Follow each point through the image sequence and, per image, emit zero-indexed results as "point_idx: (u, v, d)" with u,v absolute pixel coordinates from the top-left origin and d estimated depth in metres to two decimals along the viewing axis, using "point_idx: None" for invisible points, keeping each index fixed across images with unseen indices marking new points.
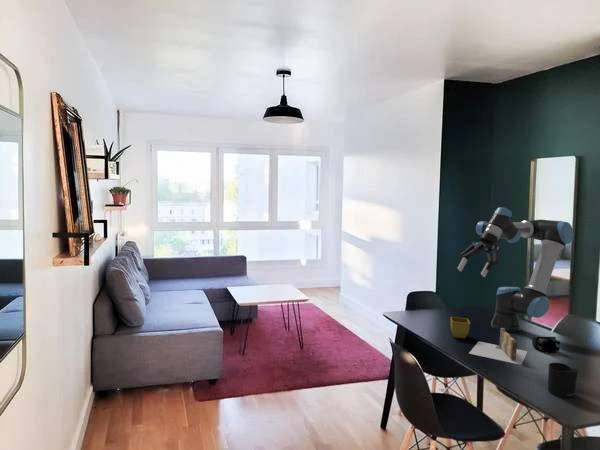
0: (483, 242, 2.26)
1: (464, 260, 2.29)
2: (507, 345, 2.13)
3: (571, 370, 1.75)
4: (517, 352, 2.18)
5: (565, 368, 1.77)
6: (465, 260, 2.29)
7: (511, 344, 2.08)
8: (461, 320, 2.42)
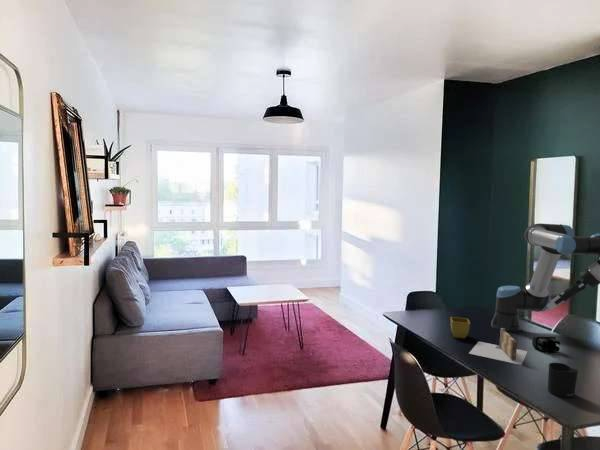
0: None
1: None
2: (507, 345, 2.13)
3: (571, 370, 1.75)
4: (517, 352, 2.18)
5: (565, 368, 1.77)
6: None
7: (511, 344, 2.08)
8: (461, 320, 2.42)
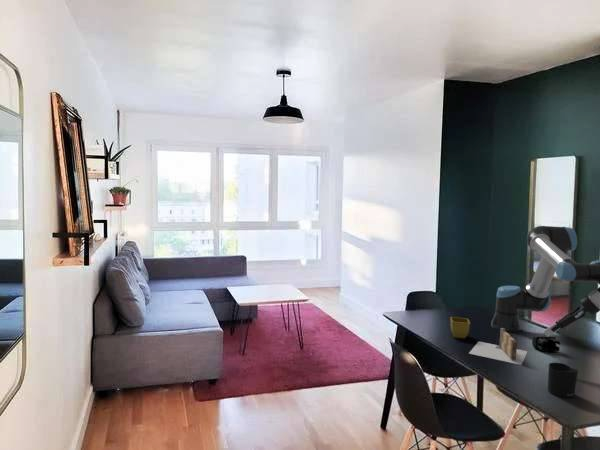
0: None
1: None
2: (507, 345, 2.13)
3: (571, 370, 1.75)
4: (517, 352, 2.18)
5: (565, 368, 1.77)
6: None
7: (511, 344, 2.08)
8: (461, 320, 2.42)
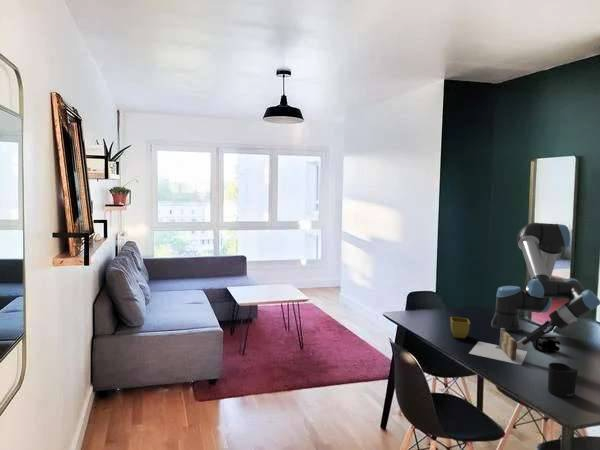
0: None
1: None
2: (507, 345, 2.13)
3: (571, 370, 1.75)
4: (517, 352, 2.18)
5: (565, 368, 1.77)
6: None
7: (511, 344, 2.08)
8: (461, 320, 2.42)
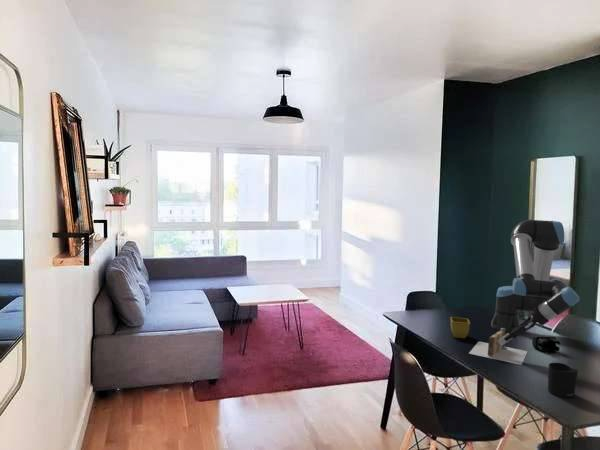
0: (537, 321, 2.03)
1: None
2: None
3: (571, 370, 1.75)
4: (517, 352, 2.18)
5: (565, 368, 1.77)
6: None
7: None
8: (461, 320, 2.42)
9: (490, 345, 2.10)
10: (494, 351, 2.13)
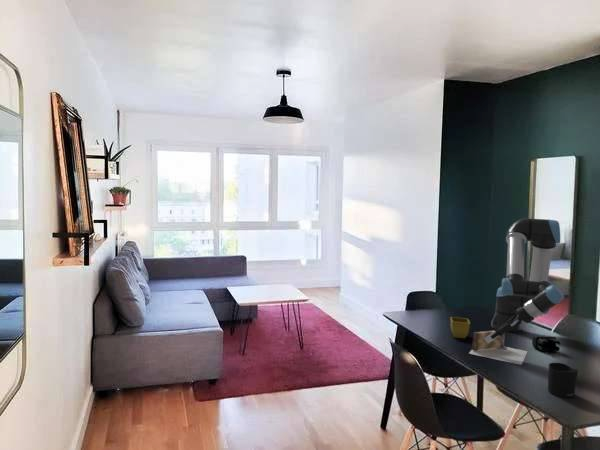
0: None
1: None
2: None
3: (571, 370, 1.75)
4: (517, 352, 2.18)
5: (565, 368, 1.77)
6: None
7: None
8: (461, 320, 2.42)
9: (474, 340, 2.16)
10: (480, 347, 2.17)
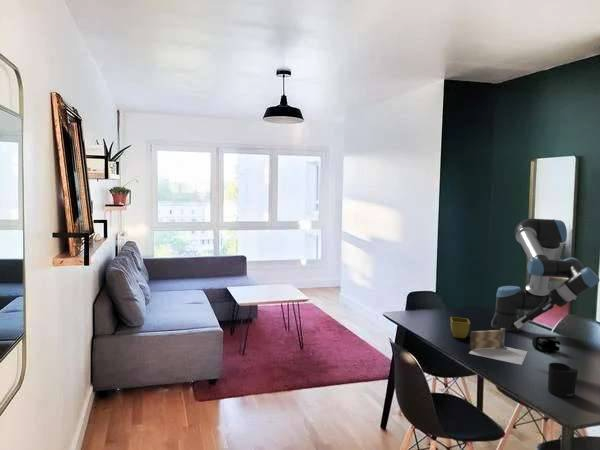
0: None
1: None
2: None
3: (571, 370, 1.75)
4: (517, 352, 2.18)
5: (565, 368, 1.77)
6: None
7: None
8: (461, 320, 2.42)
9: (471, 339, 2.18)
10: (478, 346, 2.19)
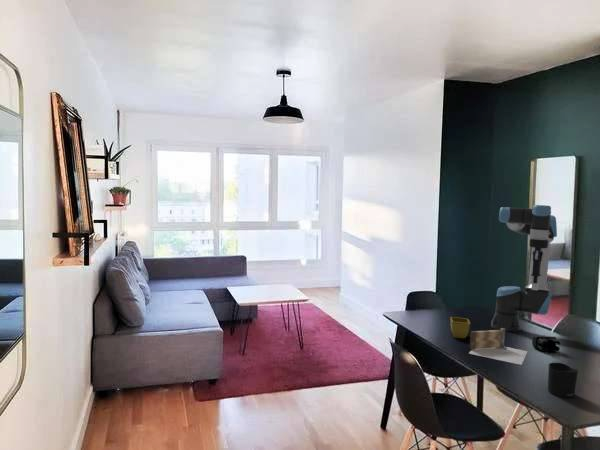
0: (540, 247, 2.11)
1: None
2: None
3: (571, 370, 1.75)
4: (517, 352, 2.18)
5: (565, 368, 1.77)
6: None
7: None
8: (461, 320, 2.42)
9: (471, 339, 2.18)
10: (478, 346, 2.19)
